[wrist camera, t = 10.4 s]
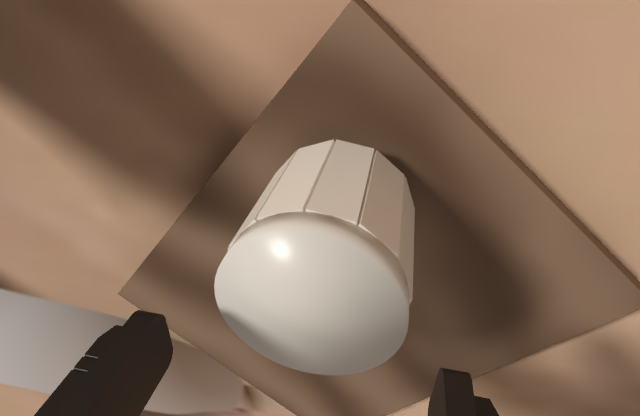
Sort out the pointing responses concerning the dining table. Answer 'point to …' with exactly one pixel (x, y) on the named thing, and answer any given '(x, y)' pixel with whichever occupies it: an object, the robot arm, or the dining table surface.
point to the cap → (324, 262)
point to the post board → (429, 231)
